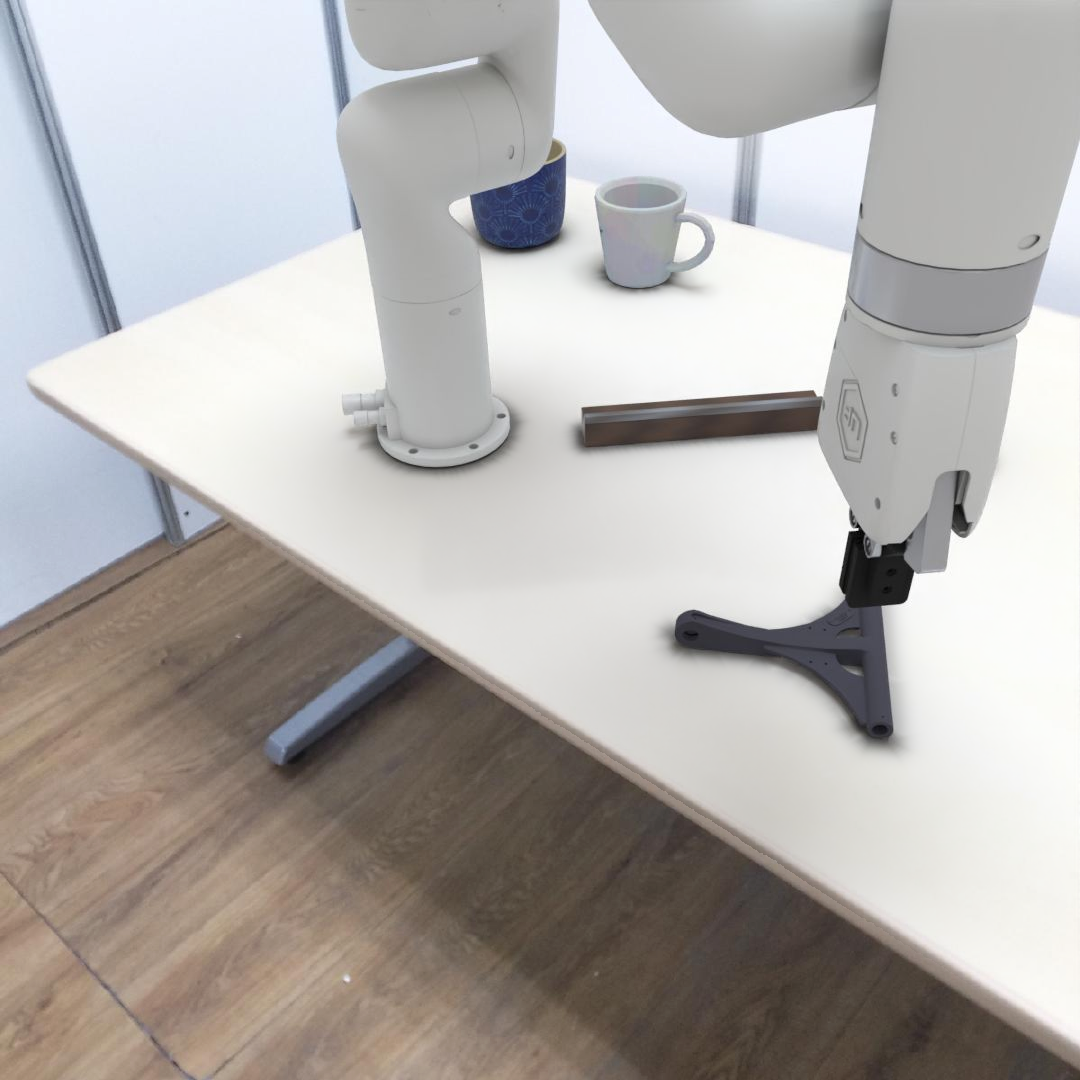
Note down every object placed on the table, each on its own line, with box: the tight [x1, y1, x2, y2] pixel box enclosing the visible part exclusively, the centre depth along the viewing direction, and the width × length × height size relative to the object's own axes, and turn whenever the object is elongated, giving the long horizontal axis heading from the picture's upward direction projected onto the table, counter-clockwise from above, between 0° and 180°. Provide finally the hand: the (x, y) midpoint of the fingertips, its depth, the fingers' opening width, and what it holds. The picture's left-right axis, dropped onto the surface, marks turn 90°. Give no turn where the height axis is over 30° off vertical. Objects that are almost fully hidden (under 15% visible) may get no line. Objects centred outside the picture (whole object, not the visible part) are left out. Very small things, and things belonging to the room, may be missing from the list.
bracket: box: [673, 598, 895, 740], centre depth 74 cm, size 14×15×3 cm
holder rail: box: [580, 389, 823, 448], centre depth 96 cm, size 22×3×3 cm, turn 94°
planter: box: [469, 137, 567, 249], centre depth 129 cm, size 12×12×11 cm
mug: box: [593, 175, 716, 289], centre depth 119 cm, size 10×15×10 cm
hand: (871, 595), depth 55 cm, fingers closed
